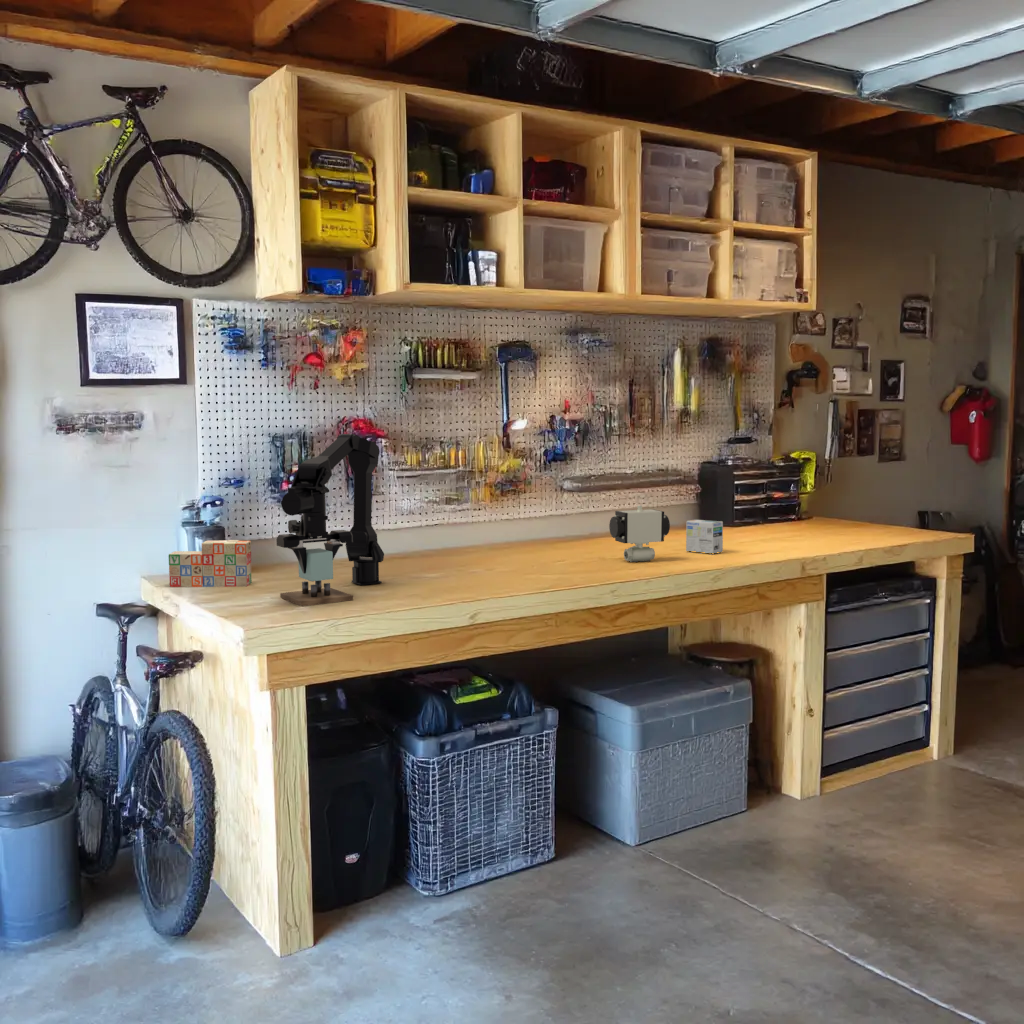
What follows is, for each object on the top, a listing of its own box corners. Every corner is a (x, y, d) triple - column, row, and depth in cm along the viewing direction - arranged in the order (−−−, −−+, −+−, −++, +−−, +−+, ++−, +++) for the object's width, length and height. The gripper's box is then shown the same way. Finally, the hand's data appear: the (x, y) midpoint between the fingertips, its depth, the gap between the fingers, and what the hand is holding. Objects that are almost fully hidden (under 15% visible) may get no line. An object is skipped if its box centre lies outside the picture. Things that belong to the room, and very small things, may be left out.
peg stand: (330, 592, 270) (330, 576, 270) (353, 600, 259) (352, 583, 258) (280, 597, 263) (279, 581, 262) (301, 606, 251) (300, 589, 251)
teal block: (320, 574, 265) (319, 548, 264) (333, 578, 259) (332, 551, 258) (298, 577, 262) (298, 550, 261) (311, 581, 255) (310, 553, 255)
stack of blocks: (169, 587, 279) (167, 543, 278) (175, 583, 285) (174, 540, 284) (247, 586, 280) (246, 542, 278) (252, 583, 286) (251, 539, 285)
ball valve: (657, 557, 330) (658, 503, 328) (669, 561, 322) (670, 505, 320) (607, 560, 324) (607, 505, 322) (618, 564, 316) (618, 507, 314)
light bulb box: (723, 552, 341) (723, 521, 340) (713, 555, 336) (713, 522, 335) (695, 550, 348) (695, 518, 347) (685, 552, 343) (685, 520, 342)
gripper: (335, 506, 270) (336, 564, 272) (267, 511, 260) (269, 571, 261) (353, 510, 261) (354, 570, 263) (284, 514, 251) (285, 577, 252)
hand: (315, 572), depth 260 cm, fingers closed on teal block, 6 cm apart
